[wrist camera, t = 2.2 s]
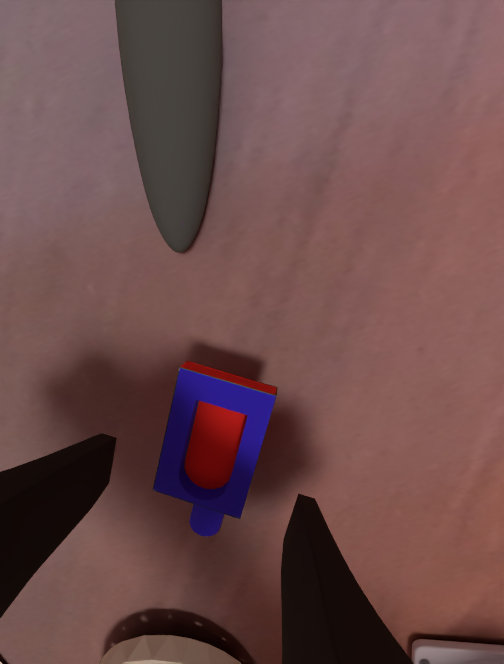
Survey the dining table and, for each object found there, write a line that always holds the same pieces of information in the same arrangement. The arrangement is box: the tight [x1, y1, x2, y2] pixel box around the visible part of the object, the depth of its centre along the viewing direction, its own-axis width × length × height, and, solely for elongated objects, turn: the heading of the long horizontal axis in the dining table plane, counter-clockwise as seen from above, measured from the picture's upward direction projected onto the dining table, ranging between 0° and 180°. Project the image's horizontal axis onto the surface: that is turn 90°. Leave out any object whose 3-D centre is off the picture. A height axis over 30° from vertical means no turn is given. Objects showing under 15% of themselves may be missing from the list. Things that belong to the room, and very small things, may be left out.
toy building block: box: [153, 361, 277, 536], centre depth 13 cm, size 4×4×8 cm
